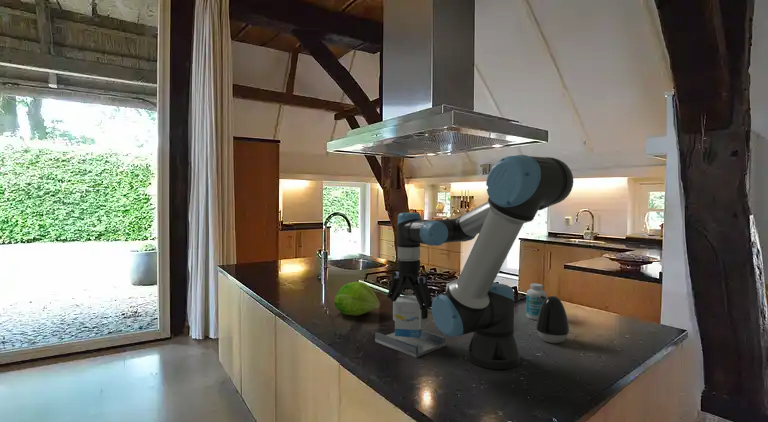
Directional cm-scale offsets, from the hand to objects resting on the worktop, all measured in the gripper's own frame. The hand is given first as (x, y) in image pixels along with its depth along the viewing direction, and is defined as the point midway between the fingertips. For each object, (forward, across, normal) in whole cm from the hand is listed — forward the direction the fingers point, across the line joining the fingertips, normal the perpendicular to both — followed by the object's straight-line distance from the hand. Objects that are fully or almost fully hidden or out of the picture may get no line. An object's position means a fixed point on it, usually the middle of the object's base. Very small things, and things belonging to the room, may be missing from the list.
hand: (409, 323), depth 137 cm
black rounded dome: (+7, -32, -37) cm, 49 cm away
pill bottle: (+7, -16, -57) cm, 60 cm away
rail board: (+7, 0, 0) cm, 7 cm away
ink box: (+3, 0, 0) cm, 3 cm away
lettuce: (+7, +38, -8) cm, 40 cm away
